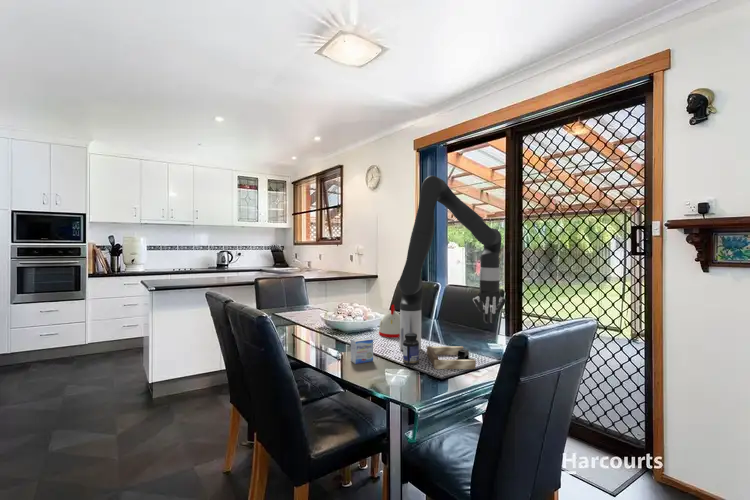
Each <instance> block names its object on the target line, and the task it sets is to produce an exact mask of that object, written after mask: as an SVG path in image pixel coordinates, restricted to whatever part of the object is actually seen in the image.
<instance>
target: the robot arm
mask: <svg viewBox="0 0 750 500" xmlns="http://www.w3.org/2000/svg"><path fill="white" fill-rule="evenodd" d="M437 202H438V203H440V204H441V205H443V206H444V207H445V208H446V209H447V210H449V212H451V214H452V215H453V216H454V218H455V219H456V220H457V221H458V222H459V223H460V224H462V226H464V228H466V229H467V230H469V231H470V233H471V234H472V235H473V237H474V238H475V239H476V240H477V242H479V243H480V244H481V245H483V252H482V253H481V254H480V268H479V293H478V295H477V296H475V297H473V298H472V302H473V303H474V305H475V307H476V308H477V310H478V311H479V312H480V313H482V314H483V322H484V323H485V324H489V322H490V323H491V324H494V322H496V314H497V313H500V312H501V311H502V309H503V307H504V305H505V304H506V303H507V299H506V298H504V297H502V296H501V295H502V294H501V293H500V290H501V289H500V285H501V284H500V281H501V276H500V274H501V273H500V253H501V246H502V234H501V232H500V231H499V230H498V229H497V228H493V227H490V226H489V225H488V224H487V223H486V222H485V221H484V220H483V218H482V217H481V215H480V214H478V213H477V212H476V211H475V210H473V209H472V208H471V207H470V206H468V204H466V203H465V202H464V201H462V199H460V198H459V197H458V196H457V195H456V193H454V191H453V190H452V189H451V188H450V186H449V185H448V184H447V183H446V182H445V180H443V179H441V178H440V177H438V176H436V175H428V176H427V177H426V178H425V179H424V180H423V182H422V183H421V187H420V194H419V201H418V207H417V211H416V215H415V219H414V224H413V226H412V231H411V235H410V239H409V244H408V247H407V248H408V249H407V254H406V260H405V264H404V266H403V269H402V272H401V275H400V278H399V280H398V288H399V290H400V291H401V298H400V299H401V300H400V302H399V303H400V304H399V314H400V337H398V338H399V345H398V346H399V349H400V351H403V341H404V340H406V338H405V334H406V333H415V334H417V338H416V340H418V342H419V351H420V350H422V305H423V286H424V285H423V280H422V277H421V273H422V269H423V265H424V263H425V260H426V258H427V256H428V253H429V251H430V248H431V247H432V242H433V238H434V234H435V209H436V204H437ZM480 302H482V305H481V303H480ZM496 304H497V305H496ZM489 308H490V311H489ZM489 312H490V313H489Z"/></svg>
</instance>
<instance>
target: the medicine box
mask: <svg viewBox="0 0 750 500" xmlns="http://www.w3.org/2000/svg"><path fill="white" fill-rule="evenodd" d="M350 361H351V362H352V363H353V364H354V365H357V364H364V363H370V362H371V363H372V362H374V339H372V338H370V337H362V338H355V339H350Z"/></svg>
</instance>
